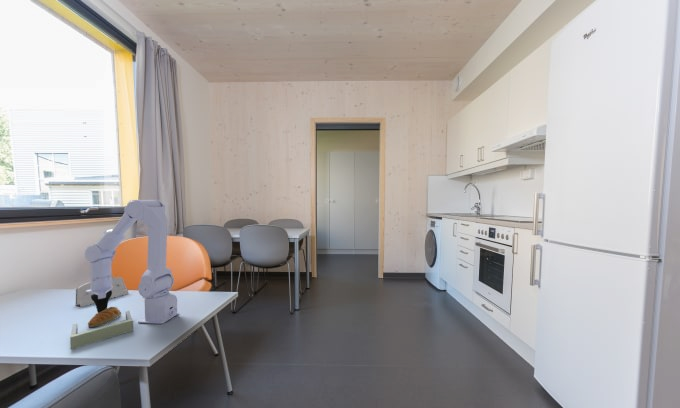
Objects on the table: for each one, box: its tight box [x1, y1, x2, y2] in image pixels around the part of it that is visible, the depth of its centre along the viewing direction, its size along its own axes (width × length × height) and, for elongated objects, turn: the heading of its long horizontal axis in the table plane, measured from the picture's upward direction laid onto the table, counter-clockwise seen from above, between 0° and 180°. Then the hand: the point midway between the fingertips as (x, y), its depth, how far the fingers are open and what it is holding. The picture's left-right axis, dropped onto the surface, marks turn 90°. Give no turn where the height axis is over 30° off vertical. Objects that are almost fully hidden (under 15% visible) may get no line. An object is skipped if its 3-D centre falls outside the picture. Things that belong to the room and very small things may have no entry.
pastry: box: [87, 306, 122, 328], centre depth 88 cm, size 9×7×4 cm
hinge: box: [75, 276, 129, 308], centre depth 108 cm, size 17×5×10 cm, turn 154°
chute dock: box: [69, 310, 134, 350], centre depth 80 cm, size 12×14×4 cm
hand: (102, 312), depth 92 cm, fingers closed
